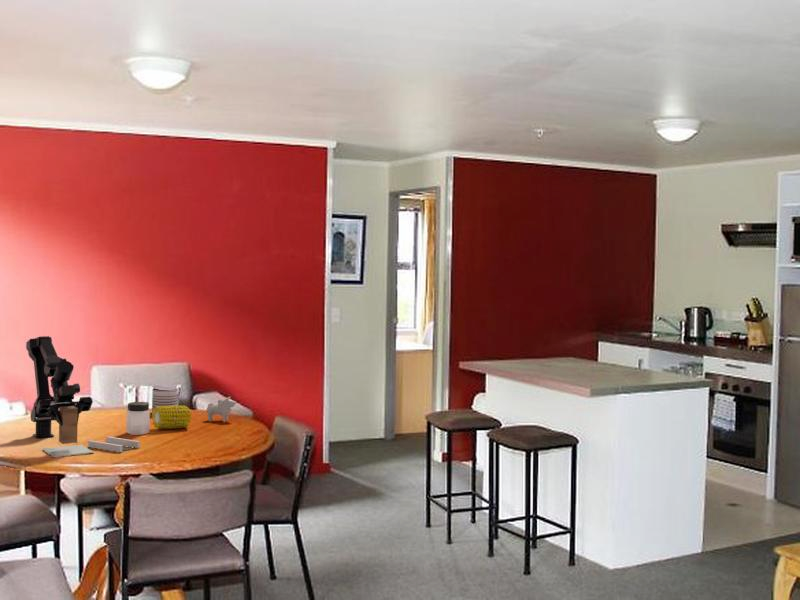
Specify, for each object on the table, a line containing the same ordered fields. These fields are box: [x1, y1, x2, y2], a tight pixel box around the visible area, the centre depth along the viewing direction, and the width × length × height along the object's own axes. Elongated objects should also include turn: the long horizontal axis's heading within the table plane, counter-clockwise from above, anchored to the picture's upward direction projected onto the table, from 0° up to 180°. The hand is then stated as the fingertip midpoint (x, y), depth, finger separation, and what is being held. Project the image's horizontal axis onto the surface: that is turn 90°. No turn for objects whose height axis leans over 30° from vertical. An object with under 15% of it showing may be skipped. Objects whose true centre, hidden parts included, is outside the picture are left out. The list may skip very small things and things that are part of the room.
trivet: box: [42, 444, 95, 458], centre depth 322 cm, size 14×14×1 cm
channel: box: [87, 436, 141, 453], centre depth 331 cm, size 16×10×2 cm, turn 64°
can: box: [151, 385, 179, 412], centre depth 407 cm, size 11×11×12 cm
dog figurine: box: [206, 396, 237, 423], centre depth 392 cm, size 5×13×11 cm, turn 86°
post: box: [58, 406, 79, 445], centre depth 322 cm, size 5×5×12 cm
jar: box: [126, 401, 151, 436], centre depth 360 cm, size 9×8×12 cm
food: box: [151, 405, 192, 430], centre depth 371 cm, size 15×12×10 cm
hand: (69, 424), depth 321 cm, fingers closed on post, 5 cm apart
